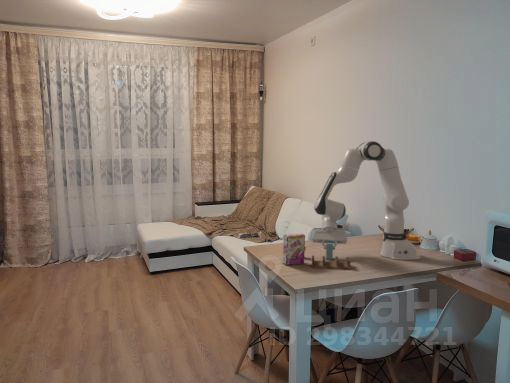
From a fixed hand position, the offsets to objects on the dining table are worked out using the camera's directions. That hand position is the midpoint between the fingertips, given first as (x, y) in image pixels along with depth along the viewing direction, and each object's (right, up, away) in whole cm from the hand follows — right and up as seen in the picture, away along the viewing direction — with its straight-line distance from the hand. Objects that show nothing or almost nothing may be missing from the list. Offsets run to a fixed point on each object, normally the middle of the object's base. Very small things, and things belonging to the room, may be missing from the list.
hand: (329, 248), depth 236 cm
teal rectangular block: (0, -6, +1) cm, 6 cm away
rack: (-2, -8, -12) cm, 15 cm away
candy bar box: (-22, -7, -9) cm, 24 cm away
